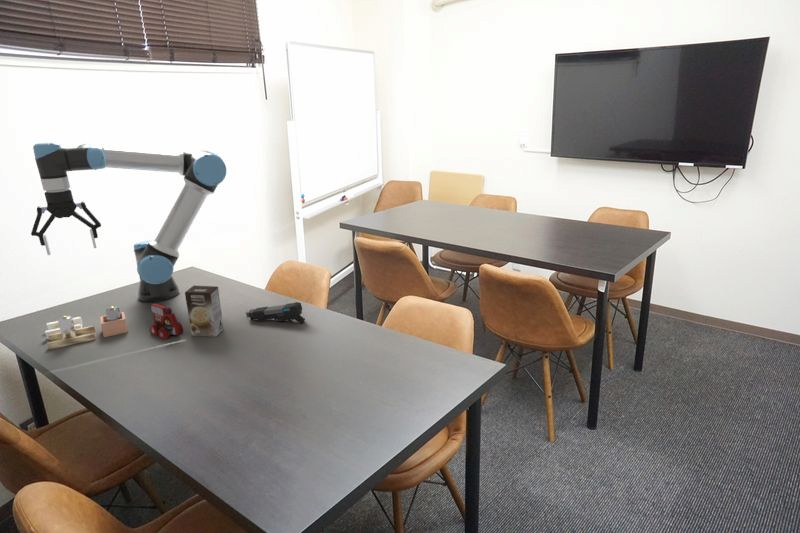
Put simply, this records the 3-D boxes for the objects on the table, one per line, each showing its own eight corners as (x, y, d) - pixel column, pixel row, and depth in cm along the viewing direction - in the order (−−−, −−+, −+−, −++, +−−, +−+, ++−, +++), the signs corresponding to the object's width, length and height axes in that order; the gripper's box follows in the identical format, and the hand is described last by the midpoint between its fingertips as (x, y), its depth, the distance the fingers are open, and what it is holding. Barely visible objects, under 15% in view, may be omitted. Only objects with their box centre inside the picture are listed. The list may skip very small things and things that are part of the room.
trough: (95, 332, 168) (94, 325, 167) (96, 340, 162) (94, 333, 161) (50, 341, 162) (48, 334, 161) (49, 351, 156) (47, 343, 155)
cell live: (77, 336, 164) (71, 313, 161) (77, 340, 161) (71, 317, 158) (63, 339, 162) (57, 315, 159) (63, 344, 159) (56, 320, 156)
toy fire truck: (169, 343, 160) (163, 314, 157) (147, 334, 166) (142, 306, 163) (187, 335, 165) (183, 306, 162) (166, 326, 172) (161, 299, 168)
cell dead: (123, 327, 170) (120, 304, 168) (120, 332, 167) (116, 309, 164) (111, 328, 169) (107, 305, 167) (107, 333, 166) (103, 309, 163)
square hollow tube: (127, 325, 173) (123, 311, 171) (128, 333, 167) (125, 318, 165) (103, 330, 169) (100, 316, 168) (104, 338, 163) (100, 323, 162)
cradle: (82, 324, 175) (80, 316, 174) (82, 333, 168) (80, 325, 167) (48, 330, 170) (46, 323, 169) (47, 340, 163) (45, 332, 162)
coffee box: (190, 336, 164) (183, 292, 159) (199, 328, 170) (192, 285, 165) (216, 337, 163) (209, 292, 158) (224, 328, 169) (218, 285, 164)
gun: (303, 324, 171) (292, 299, 168) (256, 338, 176) (244, 314, 174) (308, 319, 175) (297, 294, 173) (261, 332, 180) (250, 309, 178)
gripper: (99, 184, 173) (112, 242, 179) (12, 193, 160) (29, 254, 167) (100, 187, 166) (113, 246, 173) (10, 196, 154) (28, 259, 161)
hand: (72, 250), depth 170 cm, fingers open, 13 cm apart
